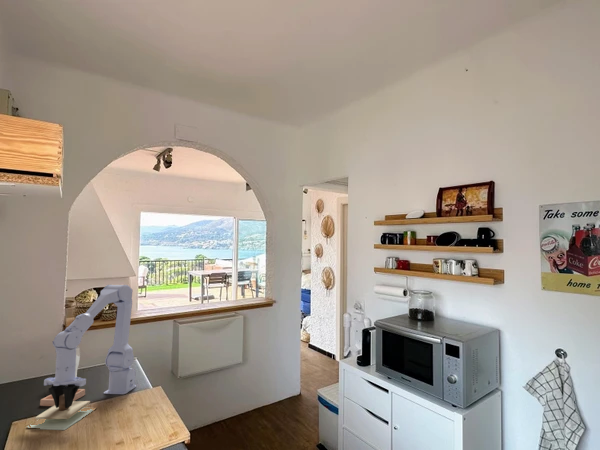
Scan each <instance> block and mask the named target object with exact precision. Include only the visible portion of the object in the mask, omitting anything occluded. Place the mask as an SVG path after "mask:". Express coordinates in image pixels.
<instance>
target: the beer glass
mask: <svg viewBox="0 0 600 450" xmlns="http://www.w3.org/2000/svg"><path fill="white" fill-rule="evenodd" d="M80 358H81V348H80V346H79V345H78V346H77V348H76V369H75V377H78V376H77V375H78V370H79V369H78V368H79V365H80Z"/></svg>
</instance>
